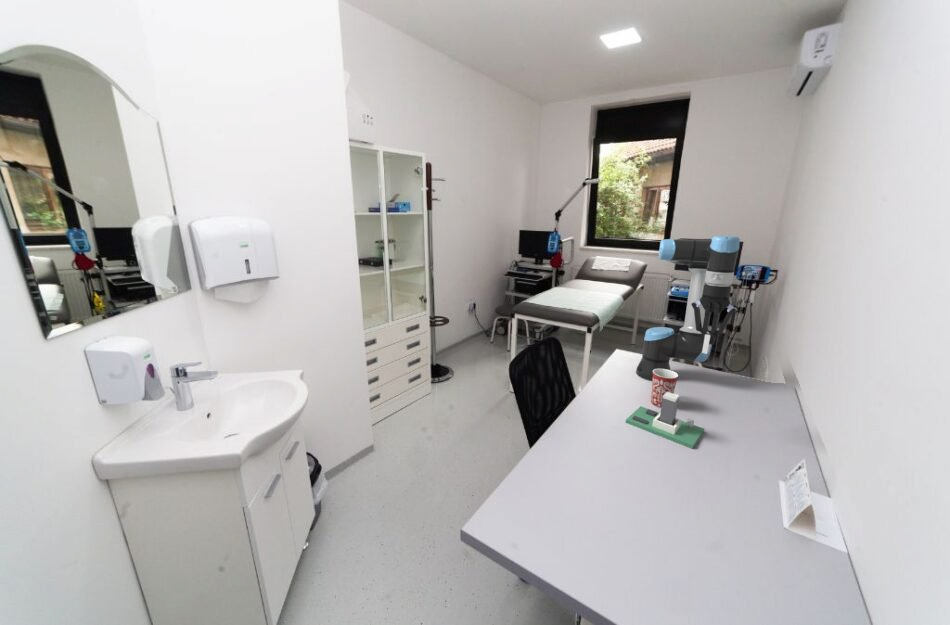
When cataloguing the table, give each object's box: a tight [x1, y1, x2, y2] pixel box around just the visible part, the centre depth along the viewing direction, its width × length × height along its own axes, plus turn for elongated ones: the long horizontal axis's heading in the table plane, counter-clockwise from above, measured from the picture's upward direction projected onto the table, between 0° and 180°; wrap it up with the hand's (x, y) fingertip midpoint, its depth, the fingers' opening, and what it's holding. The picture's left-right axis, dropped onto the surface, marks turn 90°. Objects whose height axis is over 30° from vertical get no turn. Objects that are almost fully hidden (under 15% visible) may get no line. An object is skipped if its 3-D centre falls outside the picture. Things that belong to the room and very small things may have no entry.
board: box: [625, 405, 705, 449], centre depth 131 cm, size 14×22×4 cm, turn 46°
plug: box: [659, 392, 680, 426], centre depth 128 cm, size 4×4×12 cm
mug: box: [650, 369, 679, 408], centre depth 147 cm, size 13×9×14 cm
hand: (705, 352), depth 125 cm, fingers closed
